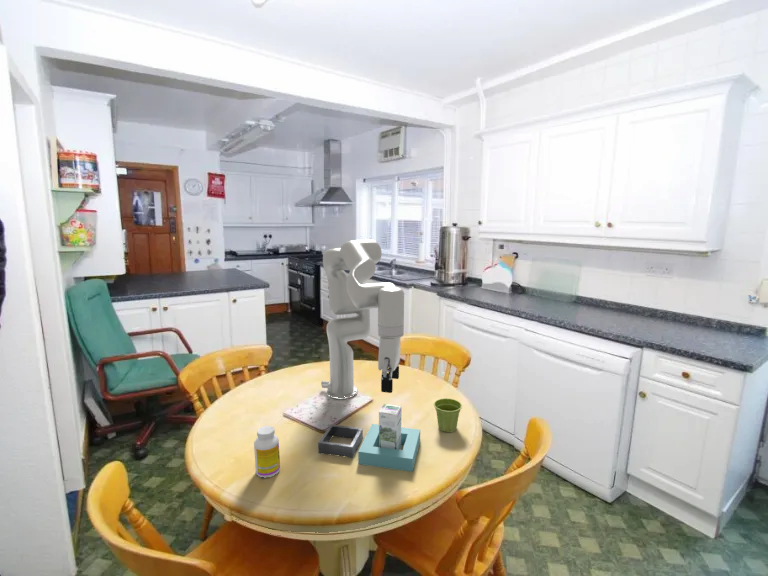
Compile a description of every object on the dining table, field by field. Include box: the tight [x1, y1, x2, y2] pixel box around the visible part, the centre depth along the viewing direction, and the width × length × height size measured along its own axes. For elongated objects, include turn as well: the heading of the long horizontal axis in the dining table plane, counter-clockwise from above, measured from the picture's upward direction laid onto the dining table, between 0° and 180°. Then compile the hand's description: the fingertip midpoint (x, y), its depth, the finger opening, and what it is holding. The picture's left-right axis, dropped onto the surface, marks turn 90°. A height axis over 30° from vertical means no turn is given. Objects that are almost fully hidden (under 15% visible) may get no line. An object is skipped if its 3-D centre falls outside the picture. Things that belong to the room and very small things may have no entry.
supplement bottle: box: [253, 425, 281, 479], centre depth 110 cm, size 7×7×13 cm
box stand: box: [317, 424, 364, 459], centre depth 124 cm, size 11×11×4 cm
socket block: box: [357, 423, 421, 473], centre depth 120 cm, size 16×16×4 cm
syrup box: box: [378, 403, 402, 450], centre depth 120 cm, size 6×6×14 cm
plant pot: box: [433, 398, 463, 433], centre depth 134 cm, size 9×9×9 cm
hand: (390, 384), depth 117 cm, fingers open, 9 cm apart
